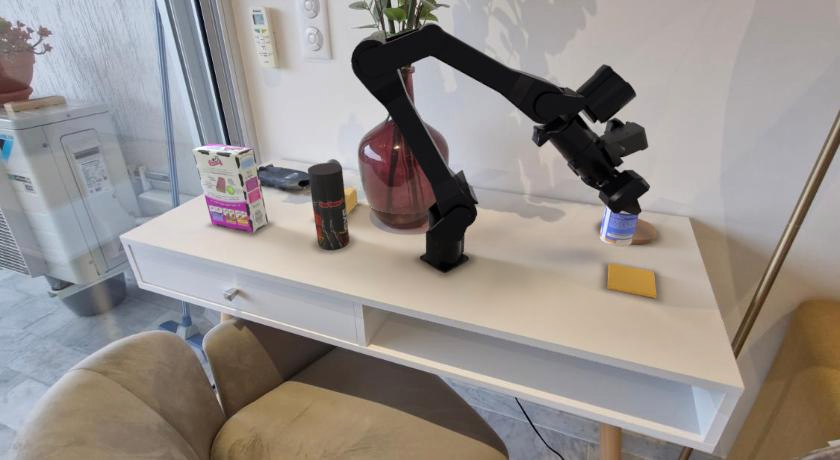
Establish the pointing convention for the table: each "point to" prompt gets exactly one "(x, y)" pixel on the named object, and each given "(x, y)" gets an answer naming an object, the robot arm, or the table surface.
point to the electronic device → (283, 178)
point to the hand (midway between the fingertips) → (630, 206)
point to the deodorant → (329, 205)
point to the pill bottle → (618, 228)
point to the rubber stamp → (347, 193)
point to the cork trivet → (644, 233)
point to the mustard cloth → (631, 280)
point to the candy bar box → (231, 186)
